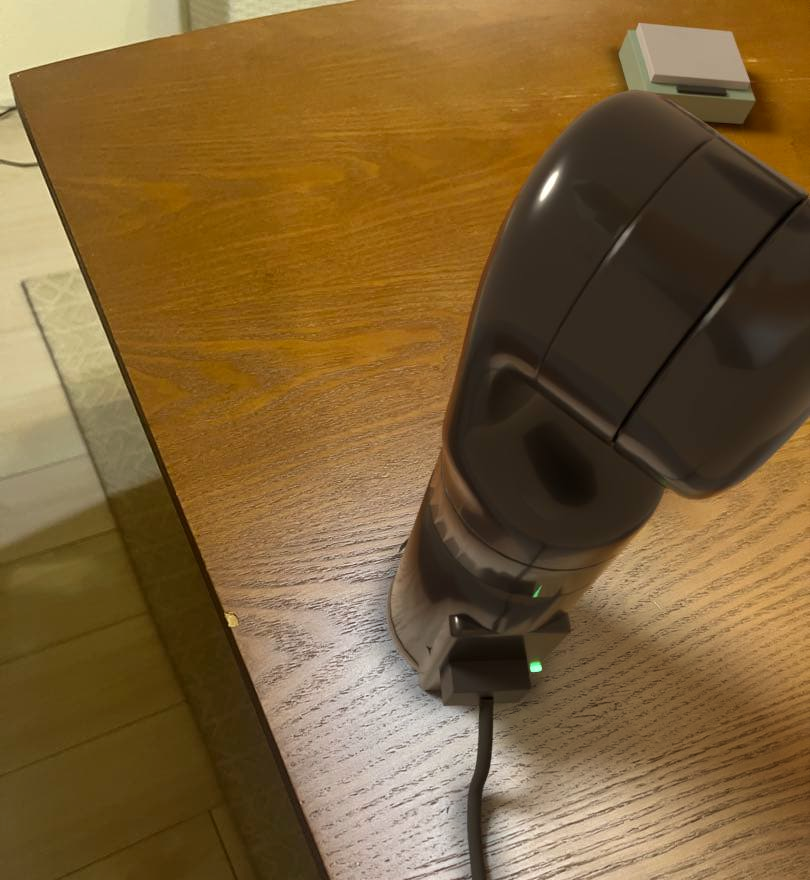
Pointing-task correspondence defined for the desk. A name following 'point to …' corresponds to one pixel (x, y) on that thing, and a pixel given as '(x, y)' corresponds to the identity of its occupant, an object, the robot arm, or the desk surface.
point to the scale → (689, 70)
